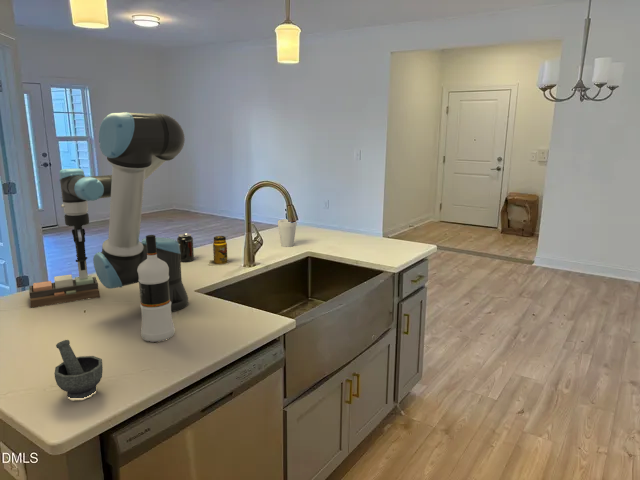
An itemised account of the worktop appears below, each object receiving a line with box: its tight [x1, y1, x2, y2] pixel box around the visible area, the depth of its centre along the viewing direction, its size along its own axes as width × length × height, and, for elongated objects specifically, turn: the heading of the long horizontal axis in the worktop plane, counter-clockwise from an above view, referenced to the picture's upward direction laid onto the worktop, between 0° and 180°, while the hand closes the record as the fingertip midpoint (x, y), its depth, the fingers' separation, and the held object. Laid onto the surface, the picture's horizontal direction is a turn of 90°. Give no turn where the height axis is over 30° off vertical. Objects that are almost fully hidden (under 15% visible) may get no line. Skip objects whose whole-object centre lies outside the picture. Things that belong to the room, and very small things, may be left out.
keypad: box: [28, 276, 101, 309], centre depth 167 cm, size 13×21×4 cm, turn 120°
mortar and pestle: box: [54, 339, 104, 398], centre depth 105 cm, size 11×9×12 cm
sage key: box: [74, 275, 94, 286], centre depth 170 cm, size 6×6×3 cm
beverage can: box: [176, 233, 195, 263], centre depth 212 cm, size 7×7×12 cm
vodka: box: [137, 234, 176, 343], centre depth 133 cm, size 9×9×30 cm
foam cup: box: [277, 218, 298, 248], centre depth 241 cm, size 10×9×13 cm
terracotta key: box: [32, 280, 53, 292], centre depth 163 cm, size 6×6×3 cm
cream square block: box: [53, 274, 74, 289], centre depth 166 cm, size 6×6×3 cm
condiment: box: [208, 235, 229, 266], centre depth 209 cm, size 7×8×12 cm
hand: (83, 277), depth 169 cm, fingers closed
